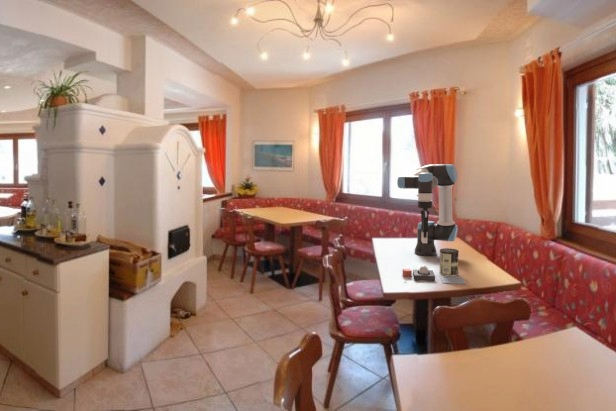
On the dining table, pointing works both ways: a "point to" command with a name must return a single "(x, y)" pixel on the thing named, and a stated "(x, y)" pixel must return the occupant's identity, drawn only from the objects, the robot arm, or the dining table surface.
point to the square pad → (452, 280)
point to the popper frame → (423, 276)
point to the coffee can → (449, 262)
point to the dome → (423, 270)
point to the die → (407, 273)
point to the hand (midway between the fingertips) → (424, 242)
